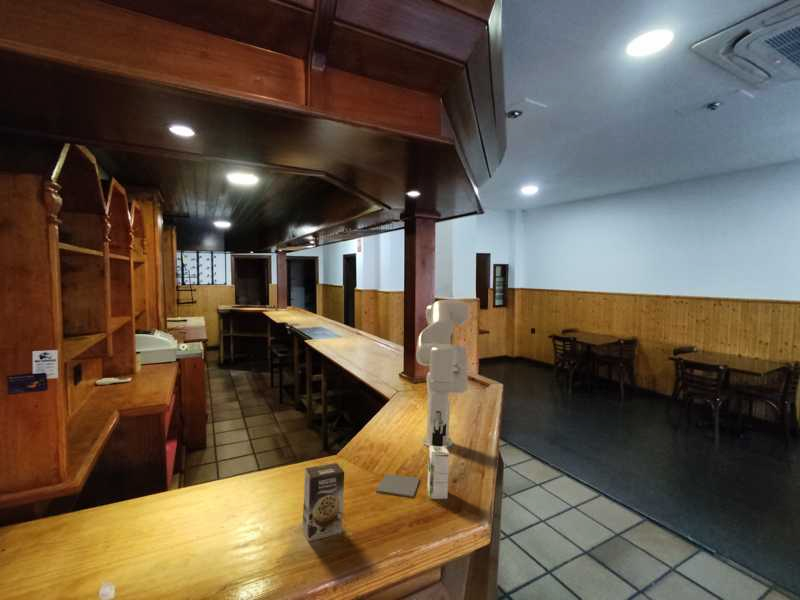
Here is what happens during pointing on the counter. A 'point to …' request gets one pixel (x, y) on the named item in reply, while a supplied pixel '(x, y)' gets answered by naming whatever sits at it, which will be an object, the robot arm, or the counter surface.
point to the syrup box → (438, 472)
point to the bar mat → (398, 485)
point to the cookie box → (323, 501)
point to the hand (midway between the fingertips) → (439, 440)
